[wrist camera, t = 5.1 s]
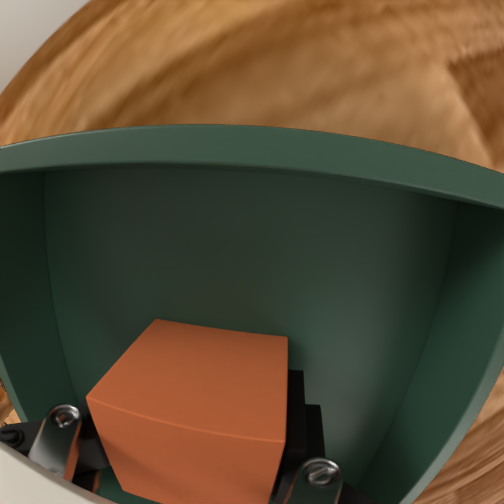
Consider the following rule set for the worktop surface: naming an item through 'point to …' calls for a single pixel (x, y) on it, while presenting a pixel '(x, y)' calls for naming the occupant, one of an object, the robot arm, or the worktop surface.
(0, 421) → the lion figurine
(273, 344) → the toy cube
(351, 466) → the crate
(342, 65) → the worktop surface
